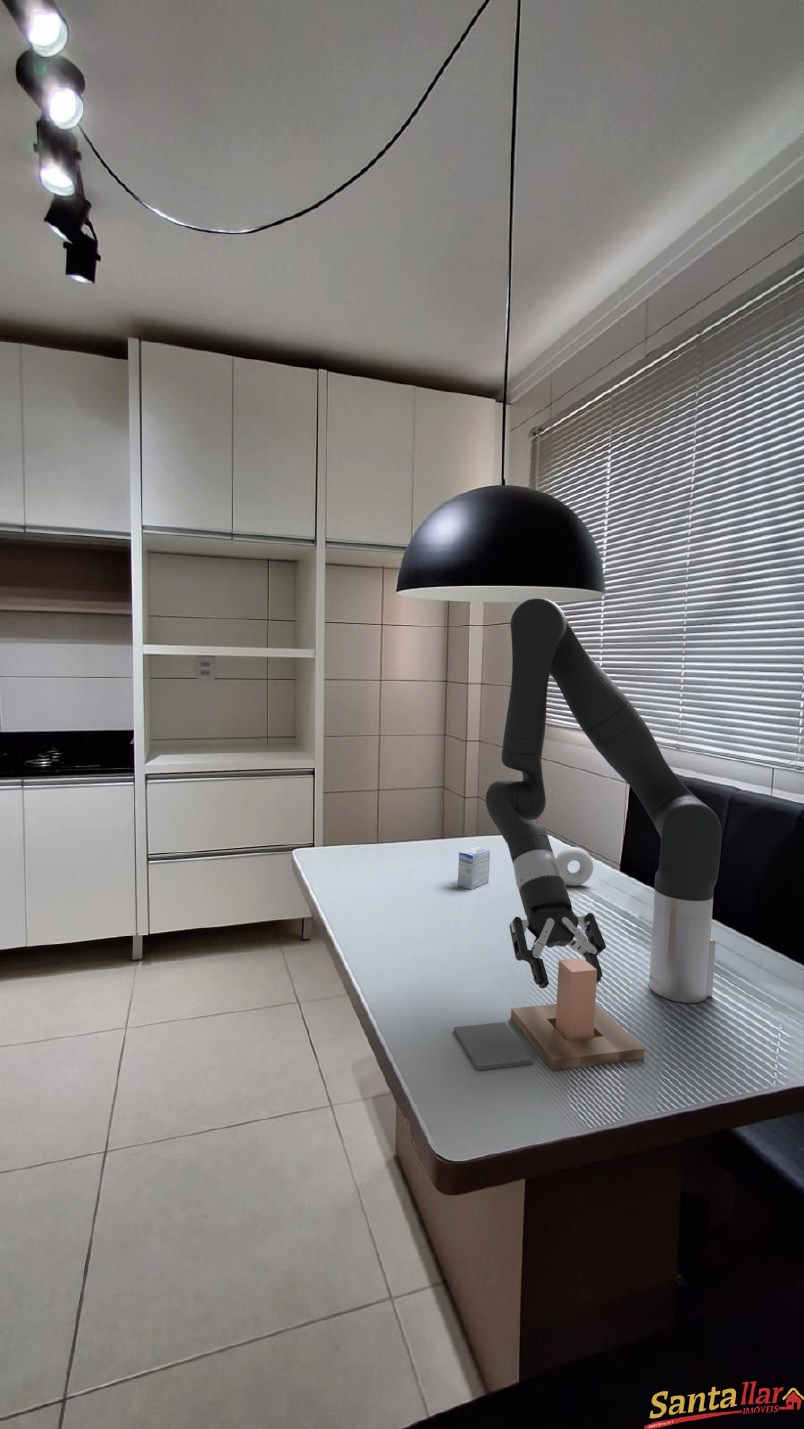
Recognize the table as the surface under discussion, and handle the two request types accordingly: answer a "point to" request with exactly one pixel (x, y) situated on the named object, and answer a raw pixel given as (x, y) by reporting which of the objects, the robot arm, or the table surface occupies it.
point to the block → (576, 999)
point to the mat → (492, 1046)
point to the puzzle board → (562, 1054)
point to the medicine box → (473, 867)
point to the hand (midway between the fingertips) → (571, 984)
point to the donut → (584, 861)
